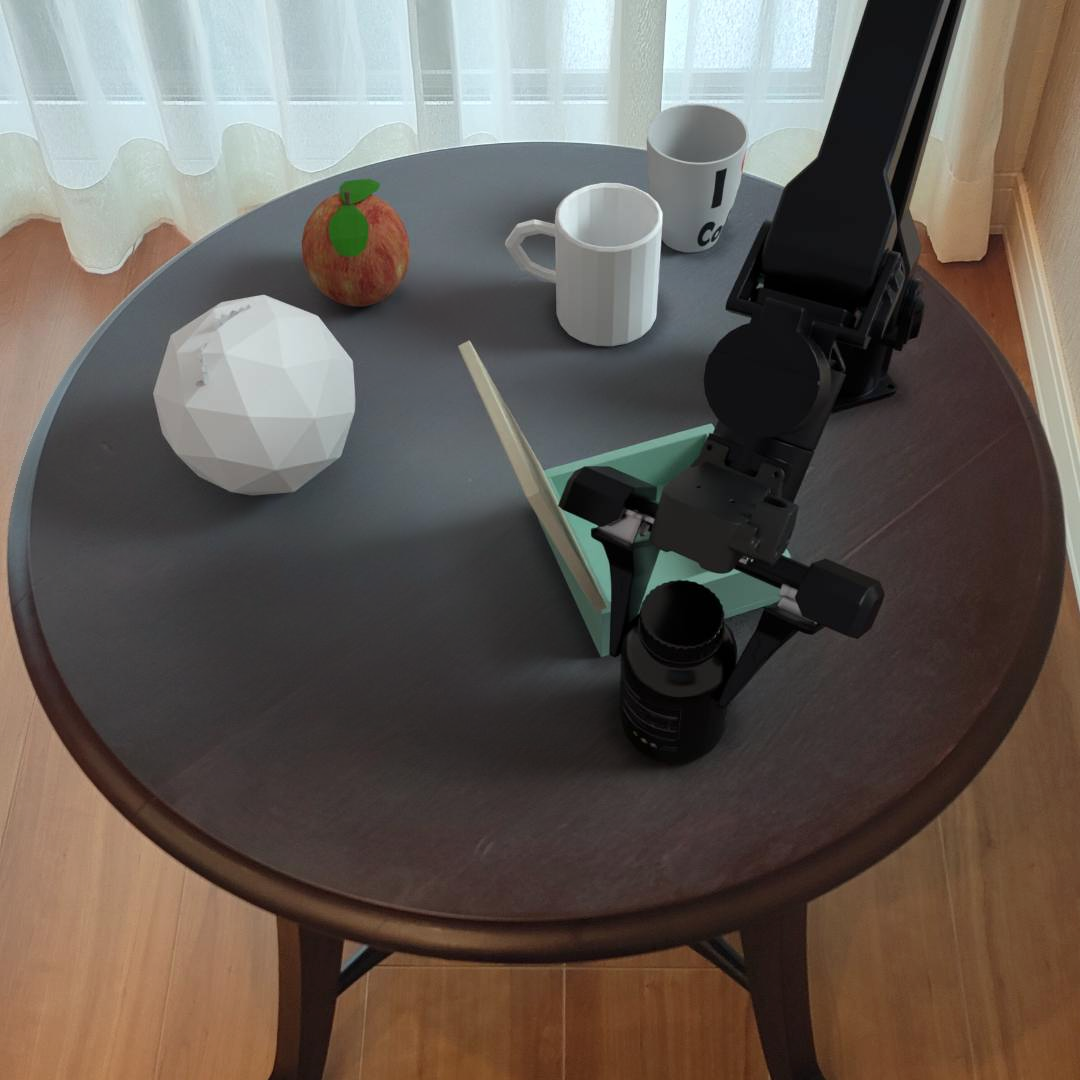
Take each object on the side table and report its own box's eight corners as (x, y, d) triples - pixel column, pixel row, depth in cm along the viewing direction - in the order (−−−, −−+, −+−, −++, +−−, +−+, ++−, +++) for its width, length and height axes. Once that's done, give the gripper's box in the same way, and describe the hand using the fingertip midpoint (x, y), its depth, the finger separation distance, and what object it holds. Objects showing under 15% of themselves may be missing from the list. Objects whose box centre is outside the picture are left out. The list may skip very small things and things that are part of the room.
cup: (709, 276, 109) (719, 175, 101) (624, 244, 112) (627, 144, 104) (752, 222, 113) (766, 122, 106) (669, 192, 116) (676, 92, 108)
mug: (513, 276, 110) (508, 178, 102) (657, 281, 109) (663, 182, 101) (504, 343, 105) (498, 246, 97) (655, 349, 104) (661, 251, 96)
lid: (469, 339, 78) (457, 345, 78) (539, 491, 71) (526, 497, 71) (540, 464, 90) (530, 470, 90) (607, 607, 82) (596, 613, 82)
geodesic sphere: (305, 538, 85) (321, 318, 82) (101, 504, 88) (107, 287, 84) (376, 491, 100) (392, 301, 96) (199, 462, 102) (208, 276, 98)
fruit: (295, 321, 107) (272, 222, 99) (332, 246, 113) (313, 146, 105) (397, 335, 106) (382, 236, 98) (429, 258, 111) (417, 159, 103)
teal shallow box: (706, 469, 96) (711, 422, 92) (781, 601, 89) (791, 556, 85) (537, 517, 94) (535, 471, 90) (600, 657, 86) (602, 614, 83)
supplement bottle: (655, 656, 86) (666, 544, 77) (746, 708, 84) (768, 599, 74) (596, 731, 83) (599, 624, 74) (688, 788, 81) (704, 684, 71)
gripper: (574, 365, 70) (475, 630, 73) (907, 499, 64) (784, 782, 67) (638, 379, 81) (549, 610, 83) (930, 495, 74) (823, 740, 77)
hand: (666, 680), depth 78 cm, fingers closed on supplement bottle, 7 cm apart
